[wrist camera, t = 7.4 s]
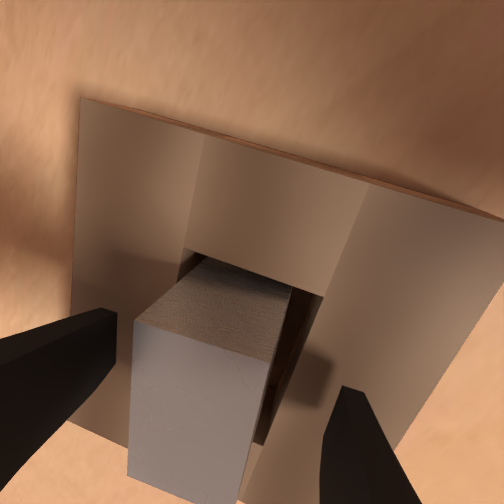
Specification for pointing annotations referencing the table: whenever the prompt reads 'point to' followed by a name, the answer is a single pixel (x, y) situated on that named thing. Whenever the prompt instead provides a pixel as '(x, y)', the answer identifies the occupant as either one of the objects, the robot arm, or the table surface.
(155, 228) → the well block
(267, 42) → the table surface
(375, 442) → the robot arm
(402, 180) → the table surface
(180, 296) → the wedge block
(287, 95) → the table surface
